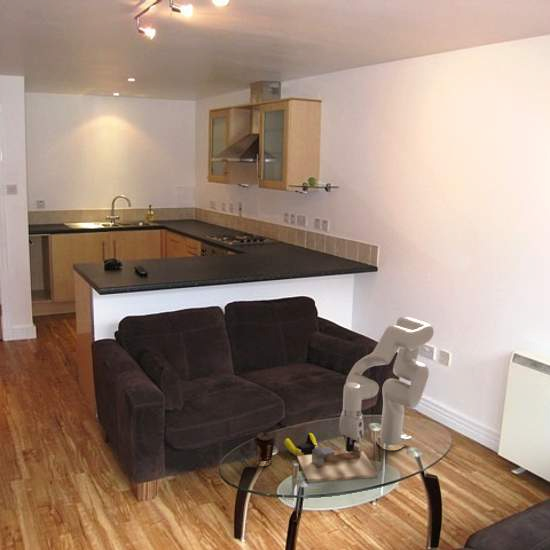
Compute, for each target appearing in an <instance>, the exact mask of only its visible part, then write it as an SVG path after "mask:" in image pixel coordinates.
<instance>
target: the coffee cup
mask: <svg viewBox="0 0 550 550" xmlns="http://www.w3.org/2000/svg"><path fill="white" fill-rule="evenodd" d="M275 440H276V439H275V436H274V435H273V433H271V432H268V431H261V432H259V433H257V434H256V435H255V437H254V444H255V448H254V449H255V456H256V461H258V462H261V461H267V460H268V461H269V460H271V461H272V459H273V456H274V453H273V452H274V449H275V448H274V446H275Z"/></svg>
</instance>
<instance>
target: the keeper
mask: <svg viewBox="0 0 550 550" xmlns="http://www.w3.org/2000/svg"><path fill="white" fill-rule="evenodd" d="M334 451H335V450H334V449H332V447H331V446H328V445H327V446H324V447H318V448H317V449H312V454H311V455H312V463H313V464H314V465H315V467H316V468H321V467H323V464H324V458H325V457H330V456H335V452H334Z"/></svg>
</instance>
